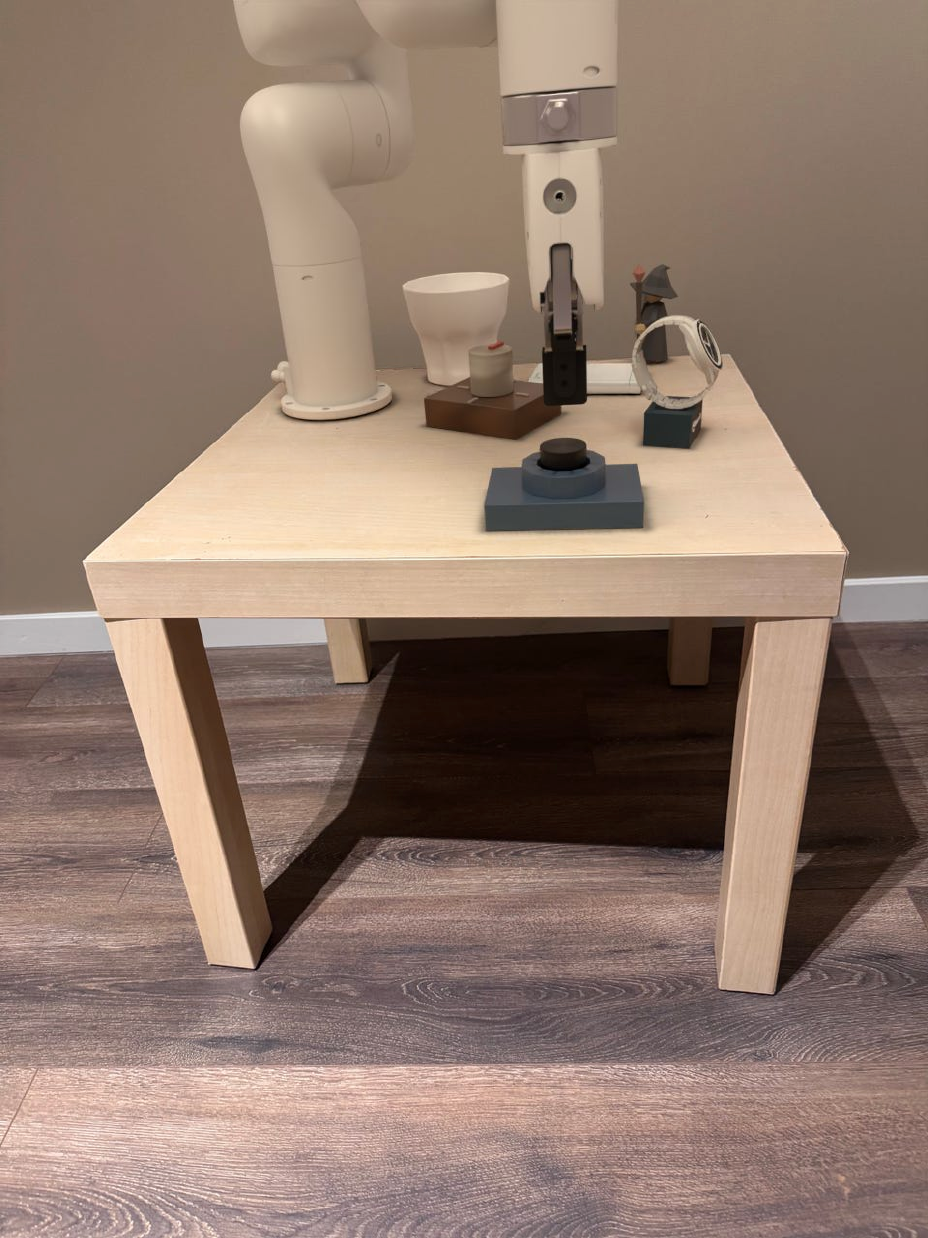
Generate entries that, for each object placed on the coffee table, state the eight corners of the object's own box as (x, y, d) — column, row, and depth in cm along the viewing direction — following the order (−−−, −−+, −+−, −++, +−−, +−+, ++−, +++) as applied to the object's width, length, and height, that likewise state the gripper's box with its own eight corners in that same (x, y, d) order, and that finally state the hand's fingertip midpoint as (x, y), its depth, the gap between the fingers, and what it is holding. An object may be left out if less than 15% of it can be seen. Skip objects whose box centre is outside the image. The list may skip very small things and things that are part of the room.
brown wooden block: (426, 426, 94) (423, 396, 92) (474, 402, 100) (472, 373, 99) (516, 439, 88) (515, 408, 87) (561, 413, 94) (560, 383, 93)
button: (539, 475, 69) (539, 453, 69) (541, 459, 73) (540, 438, 72) (586, 474, 69) (586, 452, 68) (586, 457, 72) (586, 436, 71)
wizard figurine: (629, 355, 113) (631, 253, 107) (674, 354, 112) (679, 251, 106) (627, 373, 106) (629, 265, 100) (676, 372, 105) (681, 262, 99)
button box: (485, 531, 70) (482, 482, 68) (493, 492, 77) (491, 446, 75) (643, 527, 68) (644, 478, 66) (636, 488, 75) (638, 442, 73)
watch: (711, 449, 82) (720, 325, 76) (624, 444, 85) (626, 323, 79) (721, 430, 86) (730, 311, 81) (638, 425, 89) (641, 310, 84)
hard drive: (526, 381, 100) (640, 380, 97) (538, 362, 107) (645, 360, 104) (527, 396, 101) (640, 395, 98) (539, 376, 108) (644, 374, 105)
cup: (415, 366, 116) (406, 275, 110) (512, 360, 115) (508, 268, 109) (407, 393, 105) (396, 294, 99) (514, 387, 104) (509, 287, 99)
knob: (499, 399, 90) (497, 353, 88) (462, 394, 92) (459, 350, 90) (521, 387, 93) (520, 342, 91) (485, 383, 95) (483, 339, 93)
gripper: (622, 121, 52) (620, 430, 61) (612, 119, 65) (612, 374, 74) (493, 132, 53) (509, 435, 62) (509, 128, 66) (520, 378, 75)
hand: (565, 401), depth 68 cm, fingers closed
